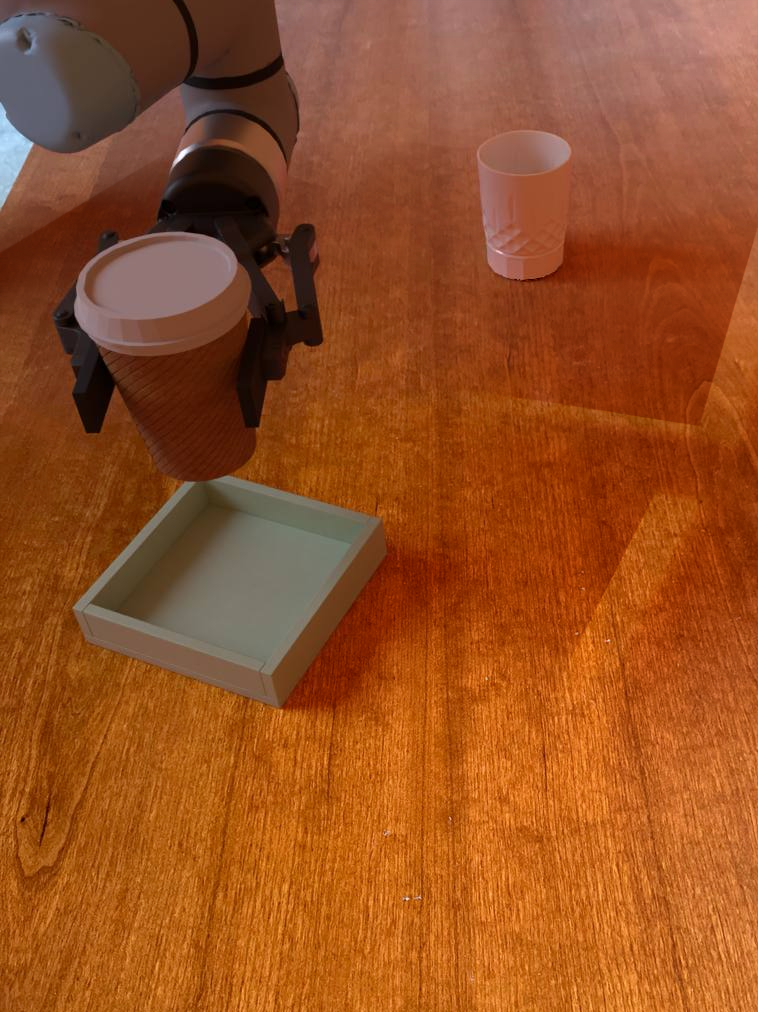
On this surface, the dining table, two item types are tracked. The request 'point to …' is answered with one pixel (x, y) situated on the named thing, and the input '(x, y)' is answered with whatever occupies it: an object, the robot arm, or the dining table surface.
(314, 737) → the dining table surface
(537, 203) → the white cup
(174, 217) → the robot arm
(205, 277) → the disposable coffee cup
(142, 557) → the square tray
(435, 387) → the dining table surface
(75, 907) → the dining table surface
